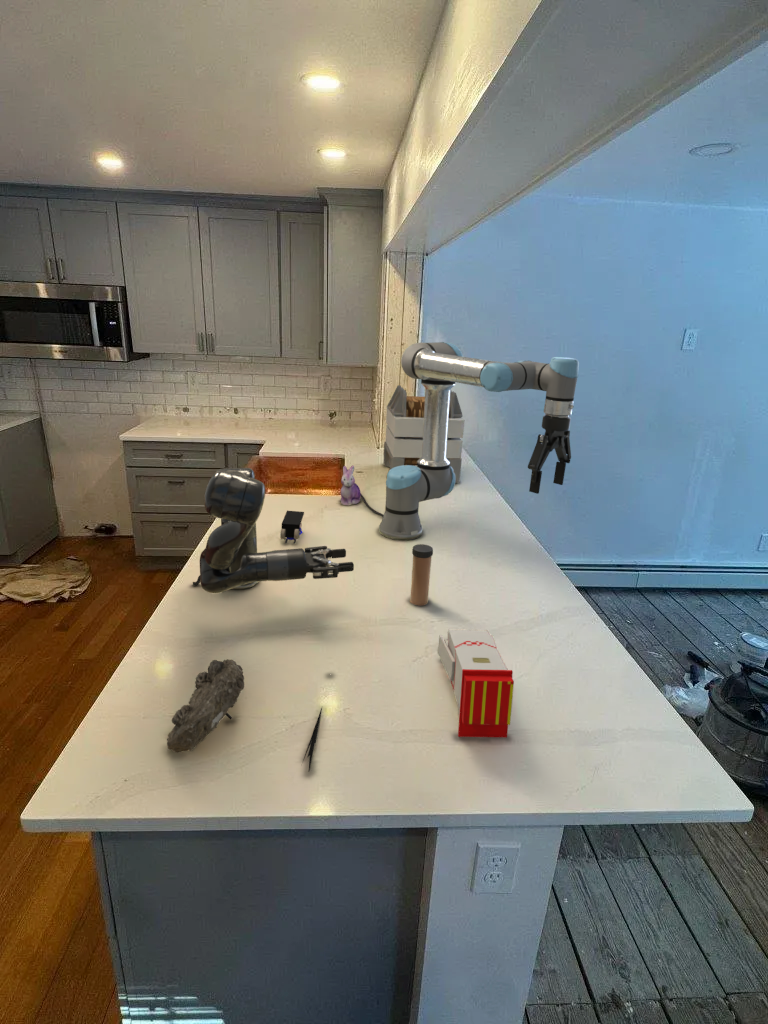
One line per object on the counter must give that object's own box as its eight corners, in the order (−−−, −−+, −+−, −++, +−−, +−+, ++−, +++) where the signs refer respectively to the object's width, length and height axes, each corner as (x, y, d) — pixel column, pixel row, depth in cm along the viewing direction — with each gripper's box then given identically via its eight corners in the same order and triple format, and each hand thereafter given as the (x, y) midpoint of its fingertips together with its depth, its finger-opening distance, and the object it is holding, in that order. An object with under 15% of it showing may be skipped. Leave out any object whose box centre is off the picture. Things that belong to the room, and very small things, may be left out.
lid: (422, 548, 153) (422, 542, 153) (436, 554, 150) (437, 549, 149) (407, 553, 150) (408, 547, 149) (422, 560, 146) (423, 554, 146)
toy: (488, 613, 130) (523, 677, 101) (484, 667, 133) (517, 744, 104) (435, 612, 130) (455, 676, 101) (432, 666, 133) (451, 743, 103)
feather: (331, 679, 122) (336, 673, 122) (307, 777, 96) (313, 769, 95) (324, 675, 122) (329, 669, 121) (298, 772, 95) (304, 764, 95)
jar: (418, 595, 158) (422, 544, 153) (431, 602, 154) (435, 550, 149) (406, 600, 155) (409, 548, 149) (419, 607, 151) (422, 555, 146)
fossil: (192, 660, 117) (244, 628, 112) (224, 691, 120) (276, 661, 115) (142, 746, 98) (202, 712, 93) (182, 779, 101) (242, 748, 96)
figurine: (344, 507, 223) (345, 470, 218) (334, 499, 232) (334, 463, 227) (366, 504, 228) (367, 468, 223) (355, 496, 236) (356, 461, 231)
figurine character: (300, 550, 186) (305, 528, 199) (299, 529, 183) (304, 509, 196) (279, 549, 186) (286, 528, 199) (278, 529, 182) (285, 508, 196)
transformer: (382, 463, 289) (386, 382, 275) (445, 464, 293) (451, 384, 279) (390, 482, 257) (394, 392, 243) (460, 483, 261) (468, 394, 247)
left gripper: (288, 562, 132) (356, 556, 136) (281, 539, 144) (343, 535, 149) (289, 591, 134) (355, 585, 139) (281, 566, 147) (343, 561, 151)
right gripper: (546, 422, 147) (535, 499, 154) (590, 413, 163) (578, 483, 171) (521, 417, 152) (511, 492, 159) (566, 409, 168) (556, 477, 176)
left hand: (349, 559), depth 144 cm, fingers open, 8 cm apart
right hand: (546, 488), depth 165 cm, fingers open, 13 cm apart
